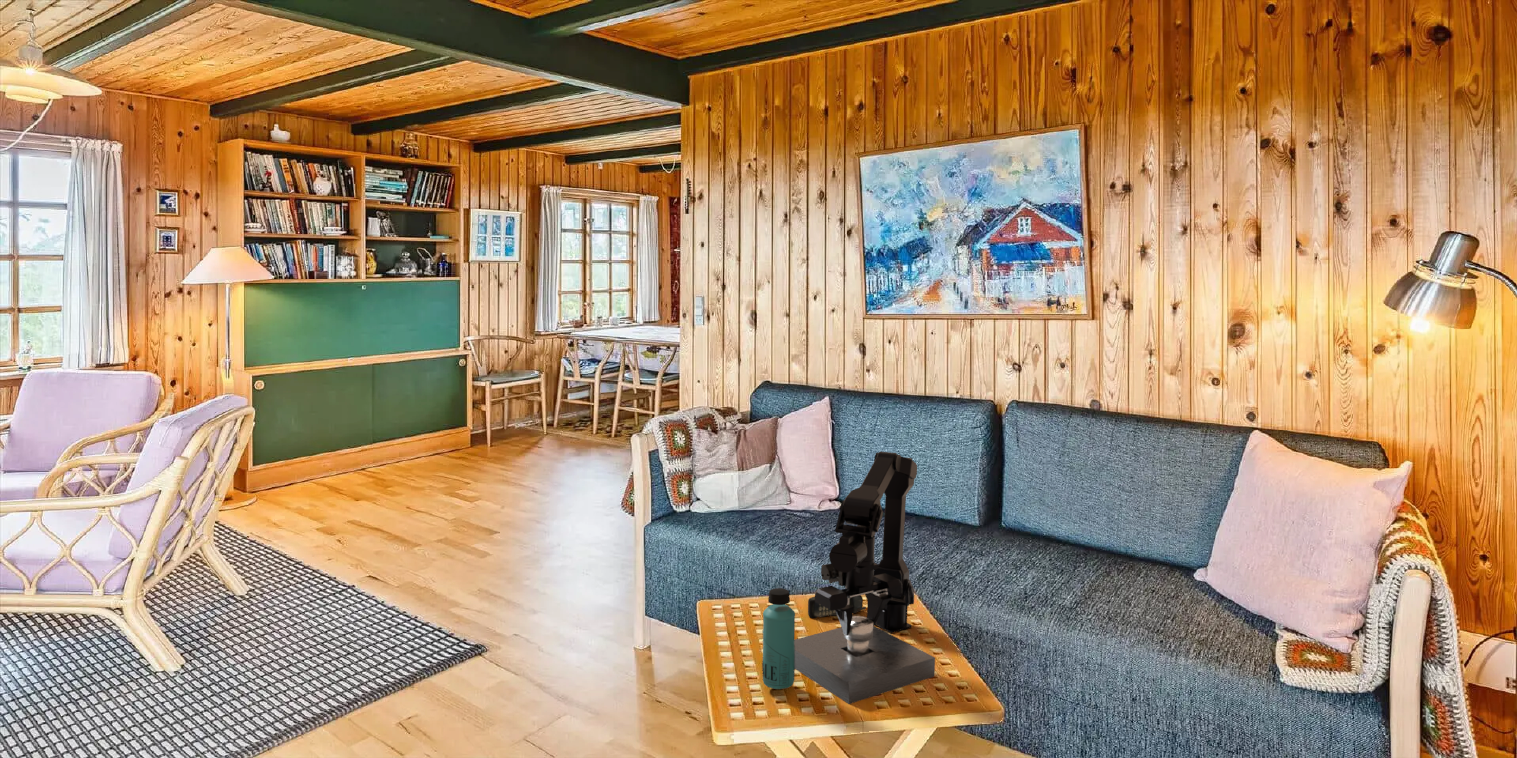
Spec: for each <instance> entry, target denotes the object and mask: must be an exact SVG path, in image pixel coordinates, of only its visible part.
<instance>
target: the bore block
mask: <svg viewBox="0 0 1517 758" xmlns="http://www.w3.org/2000/svg"><path fill="white" fill-rule="evenodd" d="M794 647H795V653H794V654H795V666H794V670H795V671H798V672H799V673H801V674H802V675H803V676H805V677H806V678H808V679H809V680H811V681H813V682H814V683H816V684H817V685H819V686H821V687H822V688H824V689H825V690H826V691H828V692H830V693H831V694H833V695H834V696H836V697H837V698H839V699H840V700H842V701H843V702H845V703H846V704H848V705H850V704H853V703H857V702H860V701H863V700H866V699H869V698H871V697H875V696H880V695H882V694H885V693H887V692H891V691H894V690H897V689H900V688H903V687H906V686H911V685H912V684H915V683H918V682H921V681H924V680H927V679H928V680H929V679H931V678H934V677H935V673H936V672H935V669H936V657H935V656H933V655H931V654H929V653H927V652H925V651H923V650H921V649H919V648H917V647H916V646H913V645H912V644H909V643H907V642H906V641H904V640H902V639H900V638H898V637H896V636H894V635H892V633H890V632H888V631H886V630H884V629H882V628H880V627H878V626H877V627H876V625H874V627H873V638H872V639H871V640H869V654H865V655H862V656H858V657H855V656H853V655H851V654H850V653H848V652H847V639H846V638H845V637H844V636H843V630H842V627H837V628H833V629H830V630H826V631H822V632H818V633H814V634H811V635H807V636H803V637H800V638H796V639H795V638H794Z"/></svg>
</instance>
